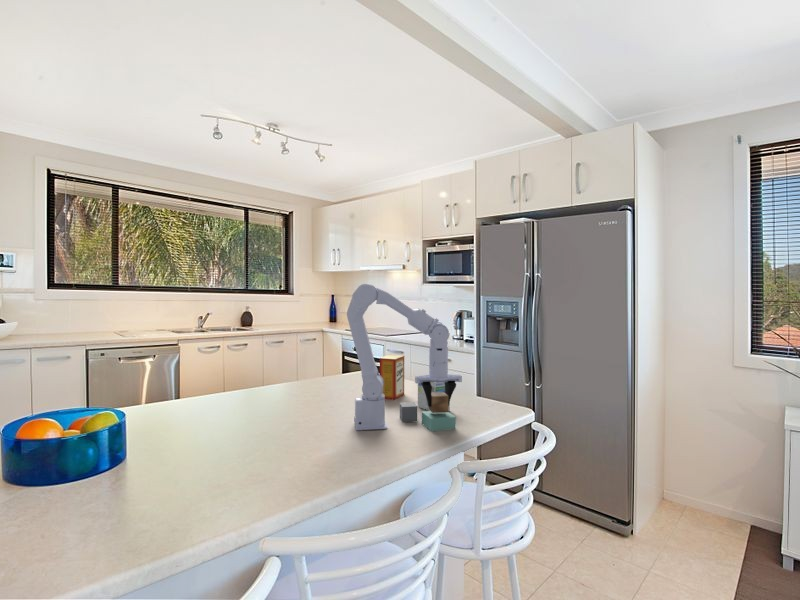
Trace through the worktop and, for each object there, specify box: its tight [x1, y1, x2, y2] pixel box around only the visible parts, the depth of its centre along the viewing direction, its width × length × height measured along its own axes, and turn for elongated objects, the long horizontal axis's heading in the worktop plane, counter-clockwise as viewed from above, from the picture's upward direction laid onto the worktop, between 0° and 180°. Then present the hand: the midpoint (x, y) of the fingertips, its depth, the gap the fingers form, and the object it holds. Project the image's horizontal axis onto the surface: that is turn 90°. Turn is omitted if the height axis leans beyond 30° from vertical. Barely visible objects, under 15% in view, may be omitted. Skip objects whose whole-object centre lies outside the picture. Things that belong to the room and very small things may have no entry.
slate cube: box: [399, 401, 418, 423], centre depth 140 cm, size 5×5×5 cm
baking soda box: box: [379, 354, 405, 401], centre depth 170 cm, size 10×6×16 cm
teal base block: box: [421, 410, 457, 432], centre depth 133 cm, size 8×8×4 cm
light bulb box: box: [417, 382, 451, 412], centre depth 152 cm, size 11×7×11 cm, turn 34°
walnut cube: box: [429, 392, 449, 413], centre depth 133 cm, size 5×5×5 cm
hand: (438, 405), depth 133 cm, fingers closed on walnut cube, 5 cm apart
